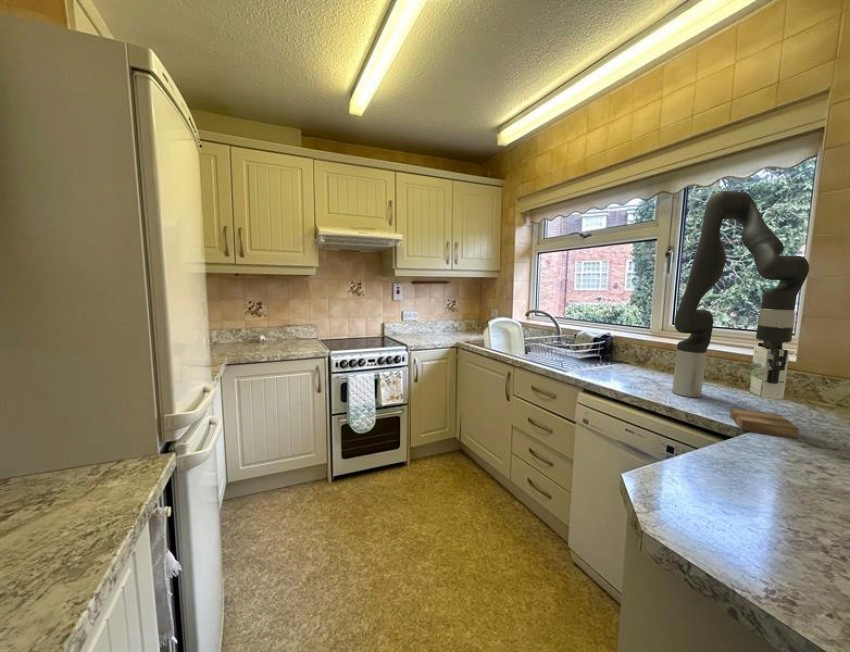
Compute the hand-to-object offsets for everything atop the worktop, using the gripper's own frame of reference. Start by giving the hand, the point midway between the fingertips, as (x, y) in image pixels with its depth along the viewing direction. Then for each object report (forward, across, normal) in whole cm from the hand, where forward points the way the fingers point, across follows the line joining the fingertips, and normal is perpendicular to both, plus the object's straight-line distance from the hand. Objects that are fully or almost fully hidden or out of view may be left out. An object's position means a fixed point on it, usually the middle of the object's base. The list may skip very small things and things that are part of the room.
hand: (767, 380), depth 105 cm
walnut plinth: (+15, 0, 0) cm, 15 cm away
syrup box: (+5, 0, 0) cm, 5 cm away
